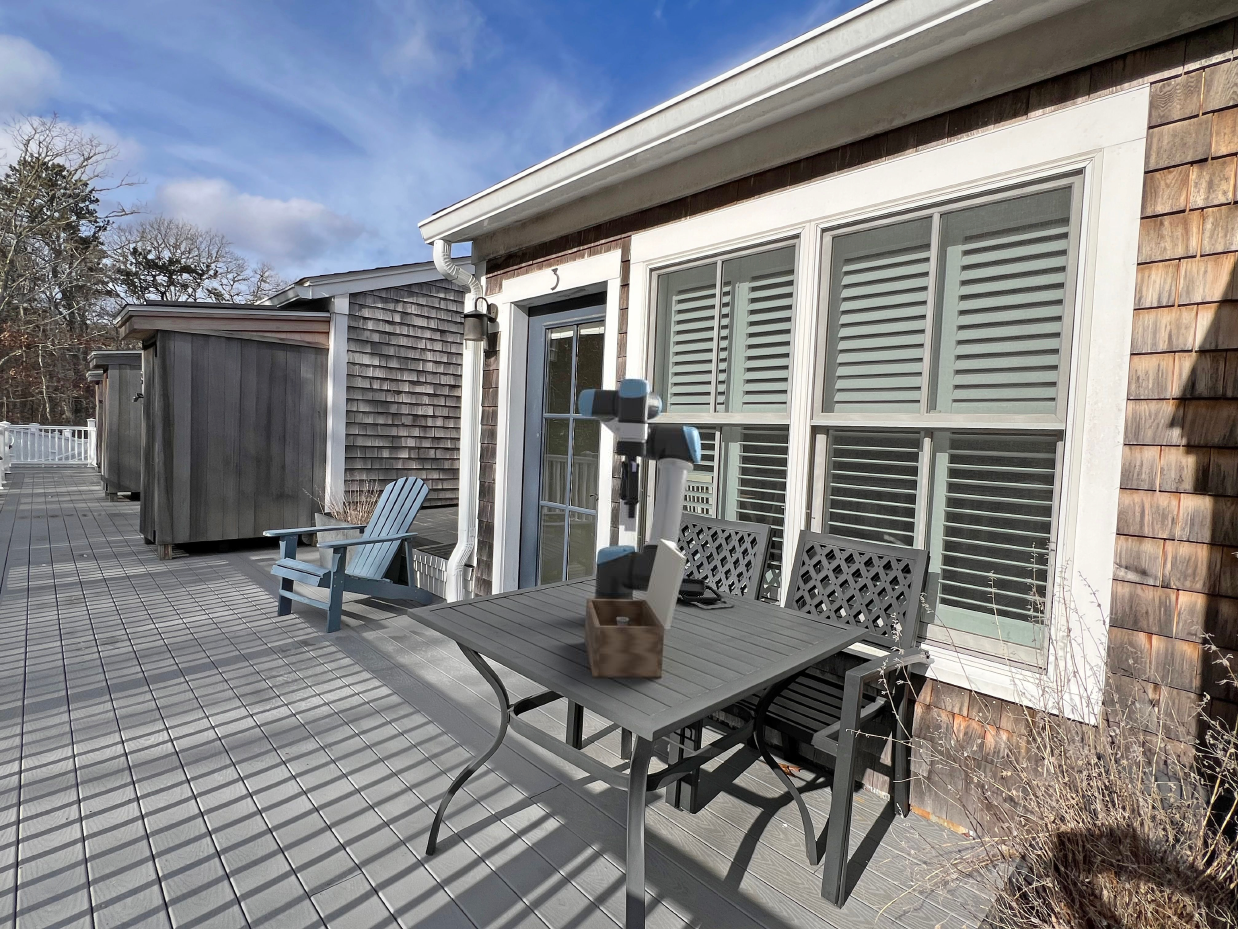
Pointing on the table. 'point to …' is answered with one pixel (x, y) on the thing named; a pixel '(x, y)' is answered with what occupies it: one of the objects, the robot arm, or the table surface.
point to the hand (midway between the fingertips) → (627, 528)
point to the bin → (623, 639)
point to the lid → (665, 582)
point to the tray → (697, 591)
